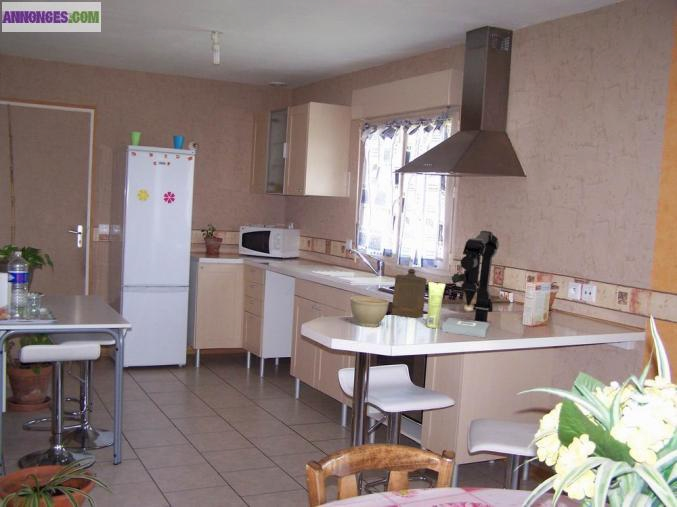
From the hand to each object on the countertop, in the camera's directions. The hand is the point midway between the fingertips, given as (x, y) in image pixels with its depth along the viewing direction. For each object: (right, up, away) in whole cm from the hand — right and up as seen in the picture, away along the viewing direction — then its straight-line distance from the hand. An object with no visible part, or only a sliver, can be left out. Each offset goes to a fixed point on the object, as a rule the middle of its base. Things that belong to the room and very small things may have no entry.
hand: (468, 304), depth 307 cm
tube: (-16, -10, +1) cm, 19 cm away
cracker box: (+38, -13, +34) cm, 53 cm away
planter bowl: (-44, -8, -9) cm, 46 cm away
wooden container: (-24, -7, +29) cm, 38 cm away
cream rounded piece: (0, -3, 0) cm, 2 cm away
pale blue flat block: (-1, -11, +1) cm, 12 cm away
